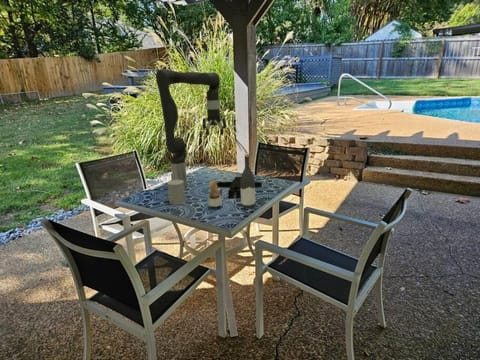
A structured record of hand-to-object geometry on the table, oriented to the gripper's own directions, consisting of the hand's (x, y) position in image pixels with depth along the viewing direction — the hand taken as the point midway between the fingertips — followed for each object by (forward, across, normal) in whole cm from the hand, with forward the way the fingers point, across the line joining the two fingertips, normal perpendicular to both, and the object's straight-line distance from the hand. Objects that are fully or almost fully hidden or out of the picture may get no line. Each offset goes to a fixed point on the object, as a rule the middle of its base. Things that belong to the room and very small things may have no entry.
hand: (215, 135), depth 192 cm
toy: (+37, +12, +4) cm, 39 cm away
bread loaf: (+33, +6, -26) cm, 43 cm away
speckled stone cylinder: (+36, -19, -21) cm, 46 cm away
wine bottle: (+36, +24, -20) cm, 48 cm away
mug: (+36, +6, -23) cm, 43 cm away
